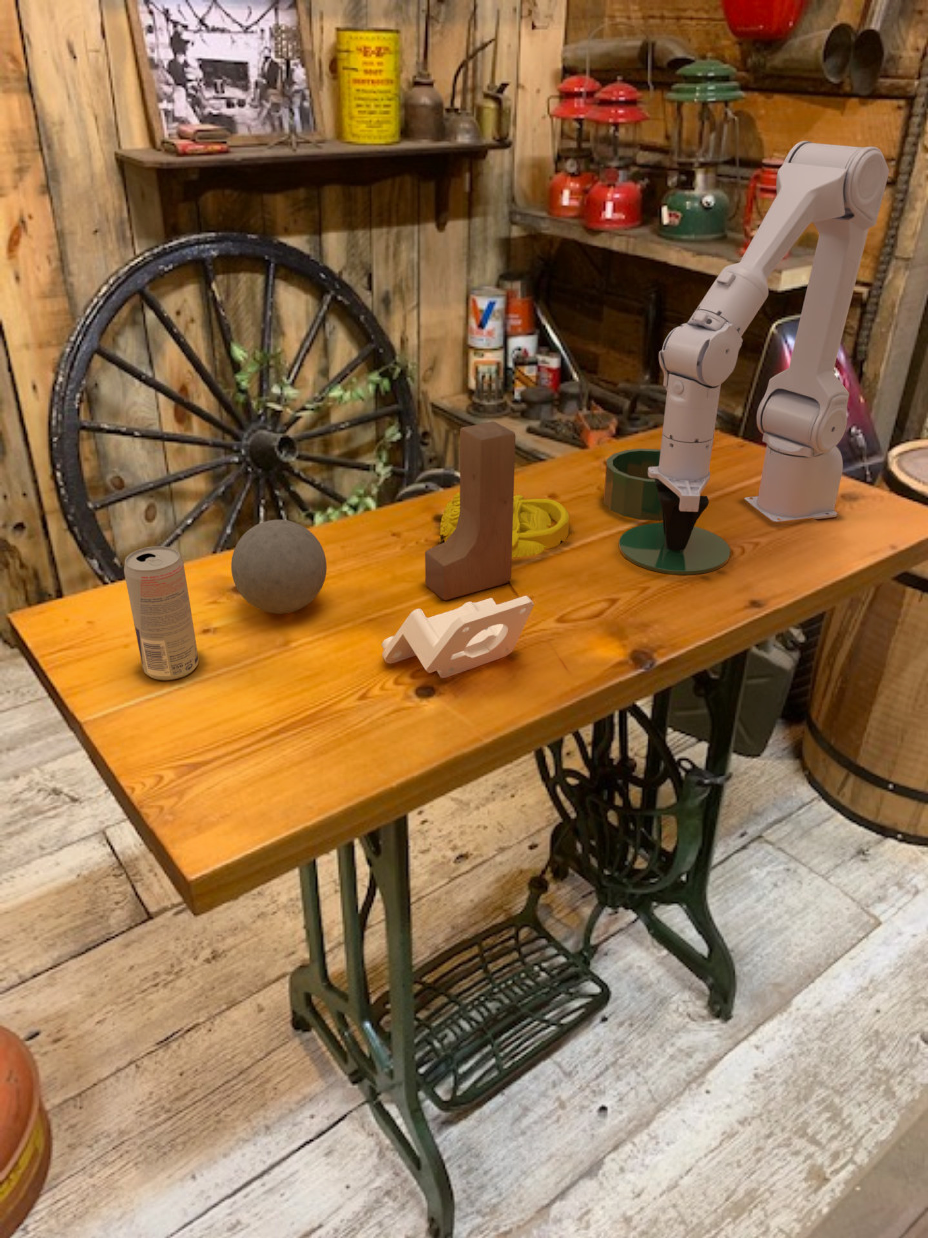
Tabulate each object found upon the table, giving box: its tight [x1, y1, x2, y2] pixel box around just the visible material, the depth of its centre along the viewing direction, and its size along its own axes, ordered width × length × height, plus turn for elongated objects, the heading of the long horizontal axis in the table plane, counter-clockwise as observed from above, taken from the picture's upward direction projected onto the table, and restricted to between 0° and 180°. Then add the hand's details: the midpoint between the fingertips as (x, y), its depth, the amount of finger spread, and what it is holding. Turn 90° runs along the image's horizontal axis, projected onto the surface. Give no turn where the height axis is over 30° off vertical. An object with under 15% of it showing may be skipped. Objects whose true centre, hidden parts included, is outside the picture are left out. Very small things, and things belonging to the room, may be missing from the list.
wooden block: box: [424, 421, 517, 601], centre depth 108 cm, size 9×4×18 cm, turn 120°
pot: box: [603, 448, 663, 522], centre depth 130 cm, size 12×12×6 cm
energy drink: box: [123, 545, 200, 681], centre depth 94 cm, size 5×5×12 cm
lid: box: [618, 522, 731, 576], centre depth 118 cm, size 13×13×4 cm
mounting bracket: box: [381, 595, 535, 679], centre depth 95 cm, size 12×6×11 cm, turn 123°
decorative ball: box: [230, 519, 327, 615], centre depth 105 cm, size 10×10×10 cm
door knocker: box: [439, 492, 570, 559], centre depth 123 cm, size 17×16×4 cm
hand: (674, 542), depth 118 cm, fingers closed on lid, 2 cm apart
